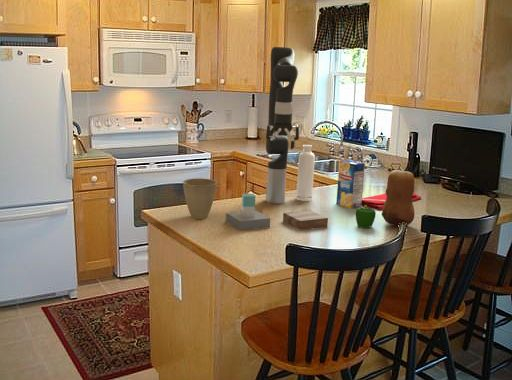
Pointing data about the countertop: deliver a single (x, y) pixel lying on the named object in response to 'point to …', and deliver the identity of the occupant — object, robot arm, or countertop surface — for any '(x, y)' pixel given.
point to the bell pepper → (365, 217)
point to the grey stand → (247, 221)
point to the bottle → (305, 174)
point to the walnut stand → (305, 219)
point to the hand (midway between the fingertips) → (281, 148)
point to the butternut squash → (399, 198)
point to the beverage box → (350, 183)
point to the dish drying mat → (380, 201)
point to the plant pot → (199, 196)
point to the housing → (248, 205)
